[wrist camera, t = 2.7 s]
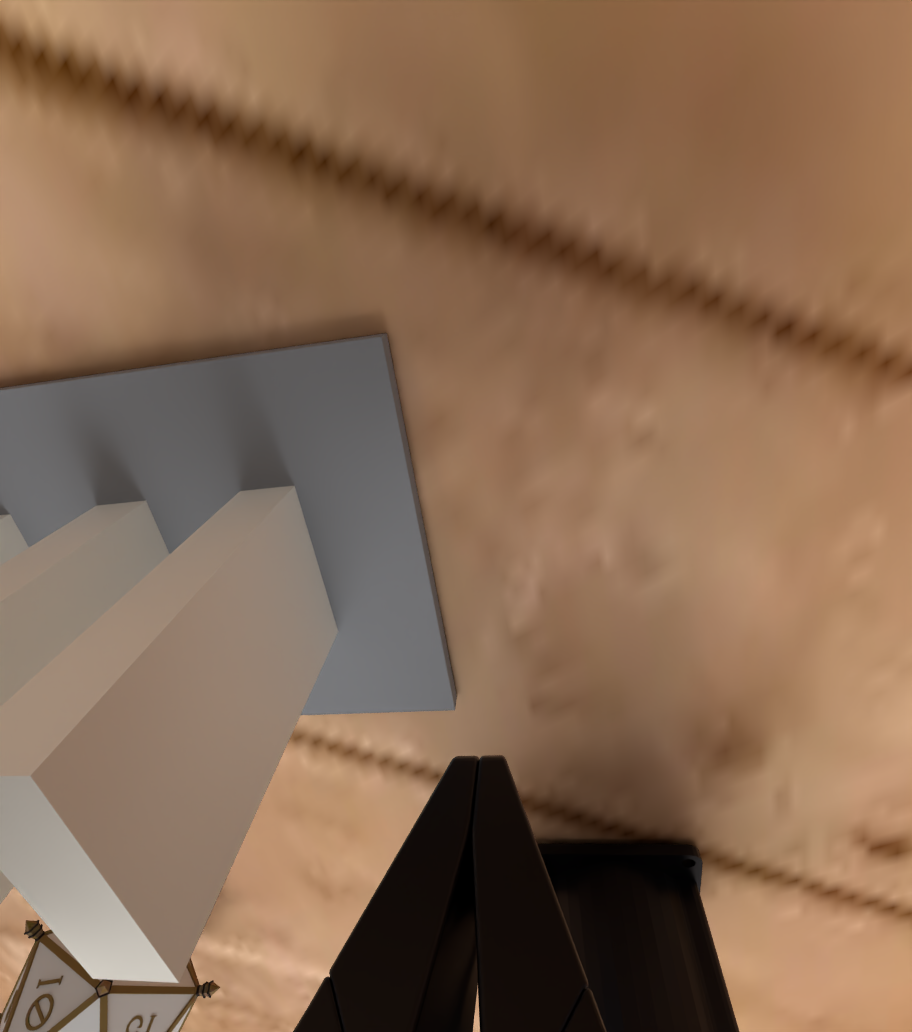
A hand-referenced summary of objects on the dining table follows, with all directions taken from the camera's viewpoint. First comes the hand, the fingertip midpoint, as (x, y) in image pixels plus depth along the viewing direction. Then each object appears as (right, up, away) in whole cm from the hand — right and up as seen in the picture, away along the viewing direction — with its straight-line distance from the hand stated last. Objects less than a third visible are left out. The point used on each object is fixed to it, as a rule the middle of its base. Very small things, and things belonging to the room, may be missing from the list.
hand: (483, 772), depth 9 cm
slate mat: (-14, +2, +9) cm, 17 cm away
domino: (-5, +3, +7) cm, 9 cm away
